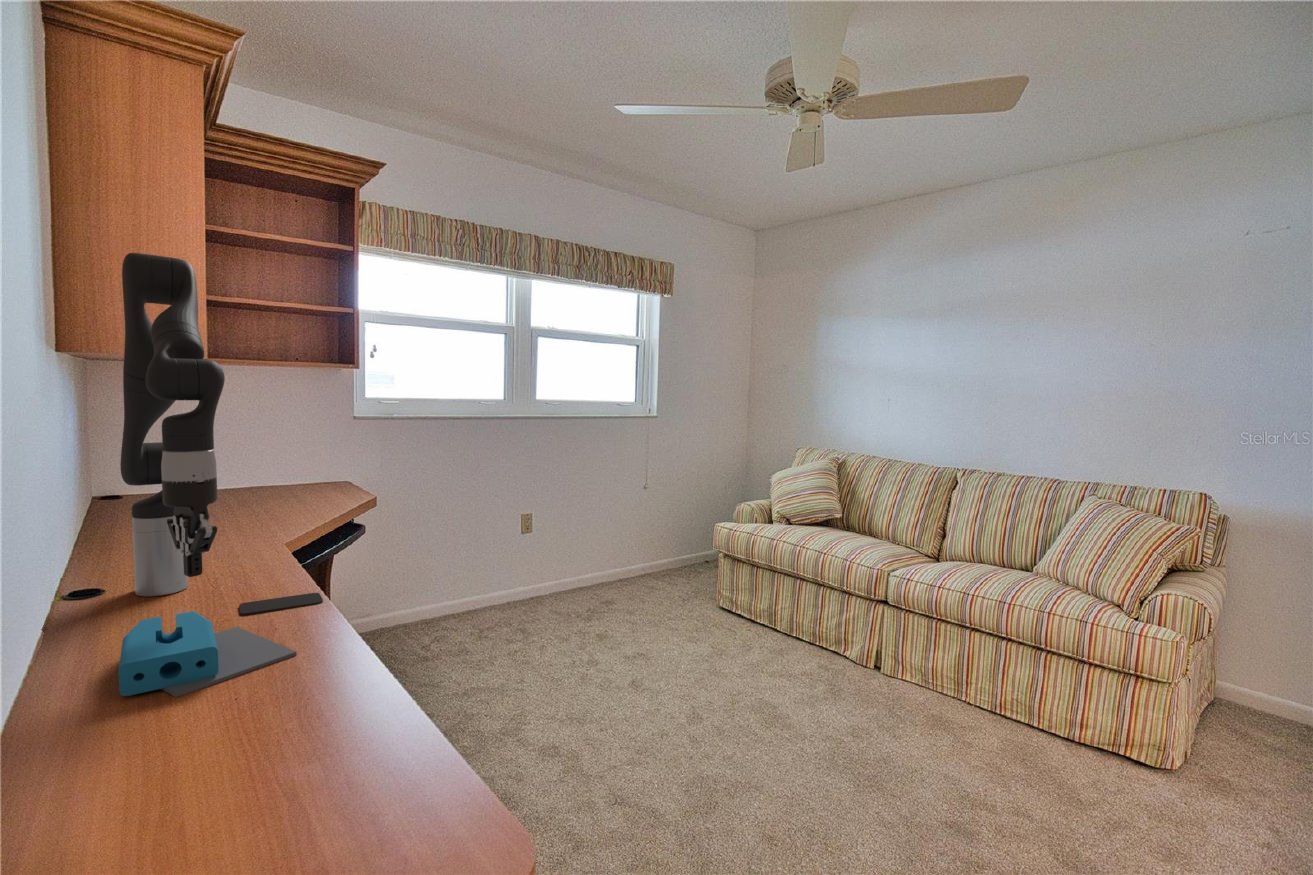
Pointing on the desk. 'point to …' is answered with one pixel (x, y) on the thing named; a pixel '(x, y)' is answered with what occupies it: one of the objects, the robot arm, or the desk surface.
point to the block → (167, 654)
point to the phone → (279, 604)
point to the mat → (237, 658)
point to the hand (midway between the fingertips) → (193, 575)
